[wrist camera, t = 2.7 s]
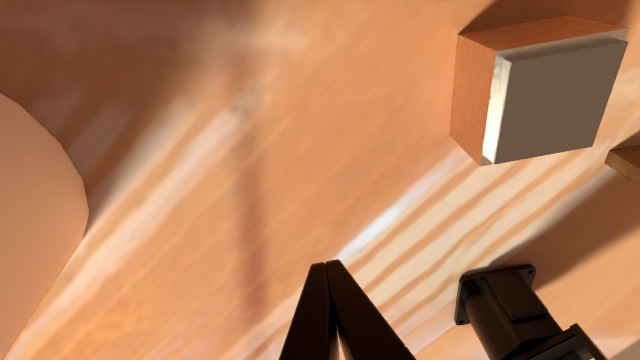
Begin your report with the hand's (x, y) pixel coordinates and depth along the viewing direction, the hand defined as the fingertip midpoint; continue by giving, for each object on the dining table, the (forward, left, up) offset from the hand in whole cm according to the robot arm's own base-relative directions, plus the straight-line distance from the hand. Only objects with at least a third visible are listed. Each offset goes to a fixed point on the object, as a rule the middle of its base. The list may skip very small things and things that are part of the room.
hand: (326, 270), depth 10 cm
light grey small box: (0, -12, -12) cm, 17 cm away
